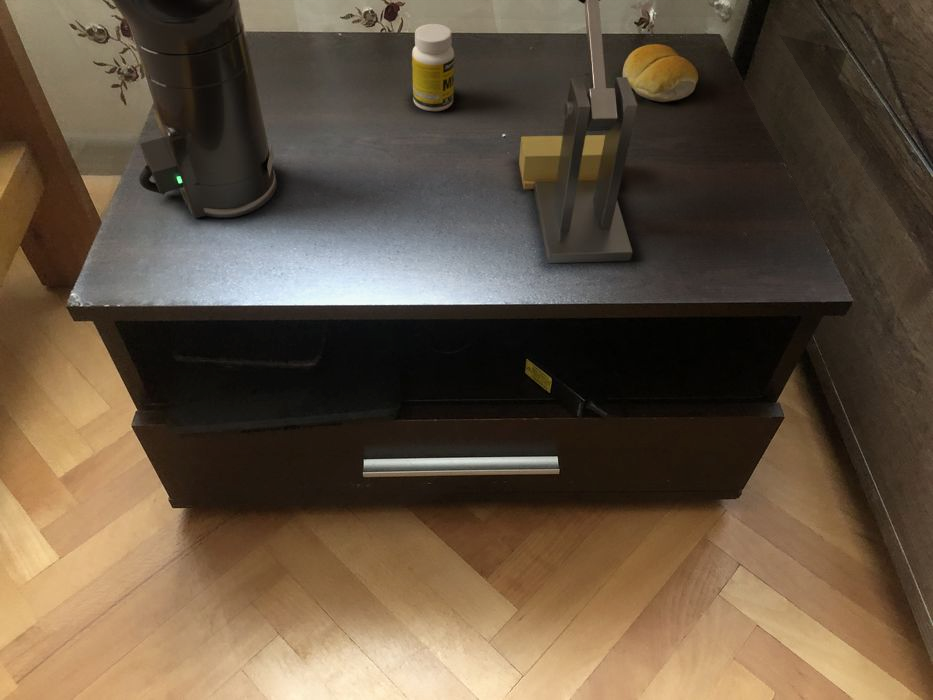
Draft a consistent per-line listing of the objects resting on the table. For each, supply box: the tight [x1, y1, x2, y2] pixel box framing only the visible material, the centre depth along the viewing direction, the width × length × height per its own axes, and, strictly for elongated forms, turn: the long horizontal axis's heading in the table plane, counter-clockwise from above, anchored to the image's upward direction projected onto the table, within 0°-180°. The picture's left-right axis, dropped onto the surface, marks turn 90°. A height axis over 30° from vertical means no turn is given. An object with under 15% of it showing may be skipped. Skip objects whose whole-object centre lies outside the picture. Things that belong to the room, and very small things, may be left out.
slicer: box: [533, 76, 638, 264], centre depth 72 cm, size 11×8×15 cm
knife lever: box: [577, 0, 617, 132], centre depth 69 cm, size 15×3×3 cm, turn 4°
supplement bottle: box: [411, 23, 455, 112], centre depth 88 cm, size 5×5×8 cm
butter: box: [518, 134, 605, 190], centre depth 81 cm, size 4×10×4 cm, turn 94°
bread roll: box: [622, 43, 699, 103], centre depth 93 cm, size 8×9×4 cm
